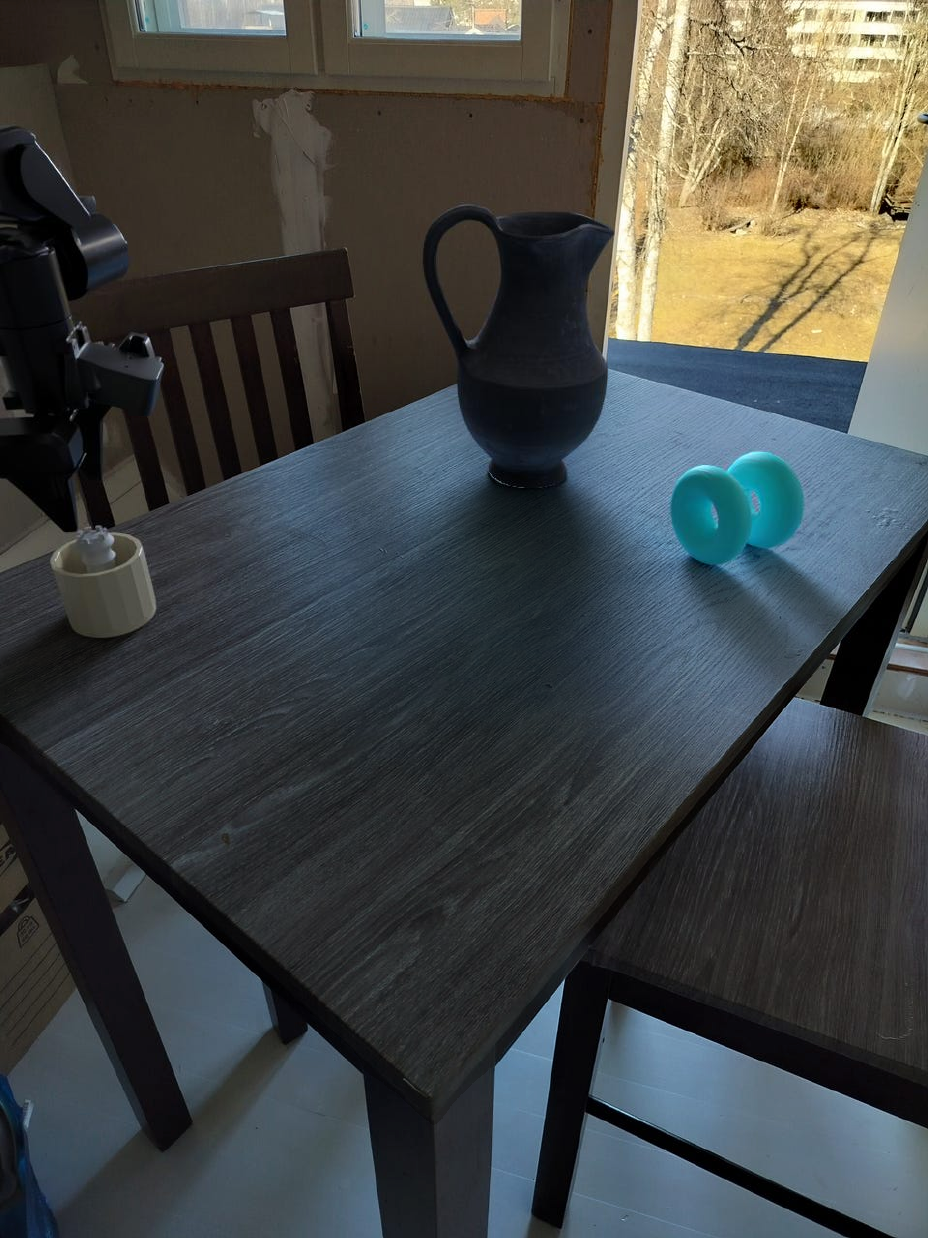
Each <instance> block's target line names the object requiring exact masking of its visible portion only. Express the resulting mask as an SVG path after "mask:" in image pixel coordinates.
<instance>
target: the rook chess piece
mask: <svg viewBox="0 0 928 1238" xmlns="http://www.w3.org/2000/svg"><path fill="white" fill-rule="evenodd" d="M84 531H85V532H84ZM109 533H110V532H109V531H108V529H107V527H103V526H102V525H95V529H94V530H92V527H91V526H86V527H84V530H81V529H80V530H77V531H76V539H77V541H76V543H75V548H76V549H77V550H78V551H80V552H81V553H83V557H82V562H83V563H84V564H85V565H86V568H87V573H98V572H102V571H106V570H110V569H113V568H115V567H117V566H116V563H115V560H114V557H115V552H114V551H112V550H111V546H112V544H113V542H114V538H113V536H112V535H110V534H109Z"/></svg>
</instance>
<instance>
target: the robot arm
mask: <svg viewBox="0 0 928 1238" xmlns="http://www.w3.org/2000/svg"><path fill="white" fill-rule="evenodd" d="M0 225H4V226H3V227H0V363H1V366H2V370H3V373H4V376H5V379H6V383H7V385H8V388H9V389H8V390H7V391H6V392H5V393H4V394H3V395H2V397H1V398H2V399H1V400H2V402H3V405H4V408H5V411H21V410H22V411H23V410H24V412H25V414H27V415H31V416H17V417H15V416H13V417H0V479H1V480H6V481H8V482H9V483H11V485H13V486H14V487H15V488H17V490H19V491H20V492H21V493H22V494H23V495H24V496H25V497H27V498H28V499H29V500H30V501H31V502H32V504H33V503H34V505H35V506H36V507H37V508H38V509H39V510H40V511H41V512H43V513H44V514H45V515H46V517H47V518H49V520H51V521H52V523H54V524H55V525H56V526H57V528H59V530H61V531H62V532H63V533H67V534H68V533H77V532H78V531H79V518H78V517H79V516H78V509H77V499H76V491H75V483H74V474H76V473H77V472H78V471H79V470H80V471H81V472H82V474H83V475H84V477H86V479H87V481H88V482H90V483H95V482H96V483H97V482H99V483H100V482H101V481H102V480H103V469H104V468H103V464H104V463H103V461H104V454H103V453H104V418H105V416H106V415H107V414H108V413H109V411H111V408H112V407H113V408H116V409H121V410H124V411H127V412H129V414H131V415H134V416H137V417H149V416H151V415H152V414H153V411H154V409H155V406H156V404H157V402H158V400H159V399H158V398H159V393H160V388H161V381H162V376H163V373H164V363H163V362H162V357H161V356H157V355H155V352H154V349H153V345H152V343H151V340H150V339H151V338H150V337H149V336H147V335H144V334H140V333H138V332H134V331H130V332H129V333H128V335H126V337H125V338H124V339H123V340H122V342H121V343H120V344H119V345H118V347H116V345H115V343H113V342H109V343H108V344H107V345H104V344H99V343H96V342H92V341H91V337H90V333H89V331H88V330H89V329H88V327H87V326H86V325H83V321H82V320H77V321H76V320H74V318H73V313H72V311H71V306H70V303H69V302H71V301H77V300H80V299H82V298H84V297H86V296H88V295H90V294H92V293H95V292H97V291H99V290H101V289H103V288H105V287H108V286H110V285H112V284H115V283H116V282H118V281H120V280H122V279H123V277H124V276H125V275H126V273H127V272H128V269H129V265H130V259H131V258H130V249H129V245H128V242H127V241H126V240H125V239H124V237H123V235H122V233H121V231H120V230H119V229H118V227H117V225H115V223H114V222H113V221H112V220H111V219H110V218H108V217H107V216H105V215H104V214H102V213H101V212H98V207H97V203H96V198H95V197H94V196H92V195H76V194H75V192H74V190H73V189H72V188H71V186H70V185H69V184H68V182H67V181H66V179H65V178H64V177H63V176H62V174H61V172H60V171H59V170H58V168H57V166H56V165H55V164H54V163H53V162H52V160H51V159H50V157H49V156H48V154H47V153H46V152H45V151H44V150H43V149H42V148H41V147H40V145H39V143H37V138H36V135H35V134H34V133H33V132H32V131H30V130H29V129H27V128H26V127H22V126H19V125H8V124H7V125H5V124H4V125H3V124H0ZM5 225H6V226H5ZM14 226H16V227H14Z"/></svg>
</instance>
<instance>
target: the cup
mask: <svg viewBox="0 0 928 1238" xmlns="http://www.w3.org/2000/svg"><path fill="white" fill-rule="evenodd" d="M108 533H109V534H110V535H112V536H113V538H114V542H113V544H112V546H111V550H112V551H114V552H115V557H114V560H115V563H116V566H117V567H115V568H113V569H110V570H106V571H102V572H98V573H87V568H86V565H85V564H84V563H83V562H82V557H83V553H81V552H80V551H78V550H77V549H76V548H75V543H76V541H77V538H75V539H73V540H71V541H67V542H66V543H64V544H63V545H62V546H60V547H59V548H58V549H56V550H55V551H54V552H53V554H52V556H51V557H50V559H49V563H50V567H51V570H52V573H53V576H54V579H55V582H56V586H57V588H58V591H59V595H60V597H61V601H62V604H63V607H64V611H65V613H66V617H67V620H68V622H69V625H70V627H71V629H72V631H74V632H75V633H77V634H78V635H81V636H83V637H88V638H92V639H93V638H94V639H107V638H114V637H120V636H123V635H126V634H129V633H131V632H134V631H136V630H138V629H141V627H144V625H146V624H148V622H150V621H151V619H152V618H153V617H154V616H155V614H156V611H157V600H156V599H157V598H156V596H155V591H154V587H153V583H152V579H151V575H150V571H149V567H148V564H147V563H148V562H147V559H146V554H145V551H144V547H143V544H142V542H141V540H140V539H138V538H137V537H135V536H133V535H131V534H128V533H122V532H115V531H113V532H108Z"/></svg>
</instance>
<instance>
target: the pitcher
mask: <svg viewBox="0 0 928 1238" xmlns="http://www.w3.org/2000/svg"><path fill="white" fill-rule="evenodd" d="M465 221H472V222H473V221H474V222H480V223H481V224H483V225H485V226H486V227H487V228H488V229H489V230H490V231H491V233H492V236H493V237H494V239H495V240H494V241H495V242H496V246H497V247H496V248H497V252H498V258H499V267H500V275H499V276H500V278H499V283H498V288H497V291H496V295H495V297H494V300H493V302H492V305H491V308H490V311H489V313H488V315H487V317H486V320H485V321H484V323H483V325H482V327H481V329H480V331H479V332H478V334H477V335H476V336H475V337H474V338H473V339H471V340H467V339H466V338H465V336H464V334H463V332H462V330H461V329H460V326H459V324H458V322H457V320H456V318H455V316H454V313H453V311H452V308H451V307H450V305H449V303H448V300H447V298H446V295H445V292H444V290H443V288H442V285H441V283H440V279H439V274H438V269H437V252H438V249H439V244H440V243H441V240H442V238H443V236H444V235H445V234H446V233H447V232H448V231H449V230H450V229H452V228H454V227H455V226H456V225H458V224H460V223H462V222H465ZM613 236H615V229H614V228H613V227H611V226H610V225H608V224H606V223H604V222H602V221H599V220H597V219H594V218H592V217H589V216H586V215H585V214H584V215H583V214H580V213H576V212H570V211H527V212H518V213H517V212H515V213H509V214H503V215H499V216H495V214H494V213H493V212H491V211H490V209H489V208H487V207H484V206H481V205H476V204H462V205H458V206H455V207H452V208H450V209H448V210H446V211H444V212H443V213H441V215H439V216H438V217H437V218H436V219H435V220H434V221H433V222H432V223H431V225H430V226H429V228H428V230H427V232H426V234H425V238H424V242H423V249H422V269H423V275H424V279H425V283H426V287H427V289H428V292H429V296H430V299H431V301H432V303H433V306H434V308H435V310H436V313H437V315H438V317H439V320H440V323H441V324H442V326H443V329H444V331H445V332H446V336H447V337H448V339H449V341H450V344H451V346H452V349H453V351H454V354H455V358H456V363H457V375H456V377H457V379H456V385H457V387H456V388H457V399H458V403H459V409H460V413H461V416H462V419H463V422H464V425H465V426H466V428H467V430H468V432H469V434H470V436H471V437H472V439H473V440H474V442H475V443H476V444H477V445H478V446H479V447H480V448H481V449H482V450H483V451H484V452H485V453H486V455H487V456H488V457H489V458H491V460H490V462H489V463H488V466H489V472H490V473H491V474H492V476H493V477H494V478H496V479H497V480H499V481H501V482H502V483H505V484H508V485H510V486H516V487H524V488H540V487H541V489H543V488H542V487H546V486H550V485H553V484H556V483H558V482H559V483H561V482H562V481H563V480H564V479H565V478H566V477H567V475H568V468H567V466H566V464H565V461H564V459H565V458H566V457H568V456H569V455H570V454H572V453H573V452H575V450H577V449H578V448H579V447H580V446H581V445H582V444H584V442H585V441H587V439H588V438H589V437H590V435H591V434H592V432H593V430H594V429H595V427H596V425H597V423H598V422H599V419H600V416H602V412H603V409H604V404H605V399H606V396H607V389H608V379H609V366H608V363H607V360H606V359H605V357H604V356H603V354H602V352H601V351H600V349H599V348H598V347H597V344H596V342H595V340H594V337H593V334H592V331H591V326H590V322H589V318H588V317H589V316H588V311H587V297H586V295H587V294H586V289H587V288H586V287H587V283H588V280H589V278H590V274H591V272H592V270H593V268H595V267H594V266H595V265H596V263H597V261H598V260H599V258H600V256H601V254H602V253H603V251H604V249H605V248H606V247H607V245H608V244H609V242H610V240H611V239H612V238H613ZM566 474H567V475H566ZM561 480H562V481H561ZM560 481H561V482H560ZM559 483H558V484H559ZM556 485H557V484H556ZM553 486H554V485H553ZM550 487H551V486H550ZM546 488H547V487H546Z"/></svg>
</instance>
